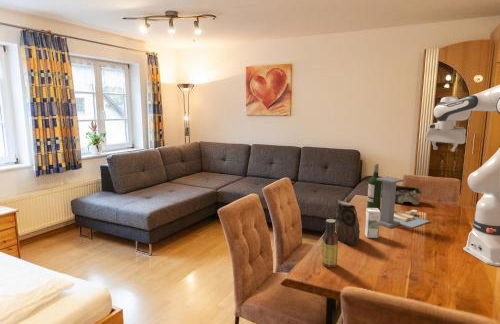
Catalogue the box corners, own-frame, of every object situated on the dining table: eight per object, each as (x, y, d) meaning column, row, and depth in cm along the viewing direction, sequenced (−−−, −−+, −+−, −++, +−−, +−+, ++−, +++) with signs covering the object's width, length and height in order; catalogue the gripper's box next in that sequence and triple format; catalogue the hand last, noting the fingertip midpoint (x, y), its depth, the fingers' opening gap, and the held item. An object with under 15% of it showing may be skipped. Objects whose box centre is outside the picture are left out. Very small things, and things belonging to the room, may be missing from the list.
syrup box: (375, 234, 172) (377, 207, 170) (378, 238, 166) (380, 211, 164) (364, 233, 173) (365, 207, 170) (367, 238, 167) (368, 210, 165)
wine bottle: (364, 208, 216) (367, 162, 211) (374, 207, 218) (377, 162, 213) (372, 211, 208) (375, 165, 203) (382, 210, 211) (386, 164, 206)
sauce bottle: (326, 260, 144) (327, 216, 140) (339, 264, 140) (341, 219, 136) (318, 265, 139) (320, 220, 135) (332, 270, 135) (334, 223, 131)
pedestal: (384, 219, 194) (387, 176, 190) (399, 224, 186) (403, 179, 182) (373, 222, 189) (376, 178, 185) (389, 228, 181) (392, 181, 176)
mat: (392, 211, 210) (392, 210, 210) (429, 222, 190) (429, 221, 190) (374, 216, 200) (374, 215, 200) (411, 228, 180) (411, 227, 180)
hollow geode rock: (376, 206, 235) (375, 195, 225) (378, 191, 242) (377, 179, 231) (420, 210, 223) (421, 198, 212) (421, 194, 230) (422, 182, 219)
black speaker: (357, 247, 156) (359, 207, 153) (330, 243, 161) (332, 203, 158) (360, 238, 167) (362, 200, 164) (335, 234, 172) (336, 197, 169)
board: (407, 211, 208) (408, 208, 207) (423, 215, 199) (423, 212, 199) (388, 216, 197) (389, 213, 197) (404, 221, 189) (404, 218, 189)
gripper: (469, 126, 178) (466, 152, 180) (431, 124, 194) (429, 148, 197) (463, 127, 174) (460, 153, 176) (425, 125, 191) (423, 148, 193)
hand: (443, 150), depth 187 cm, fingers open, 8 cm apart
